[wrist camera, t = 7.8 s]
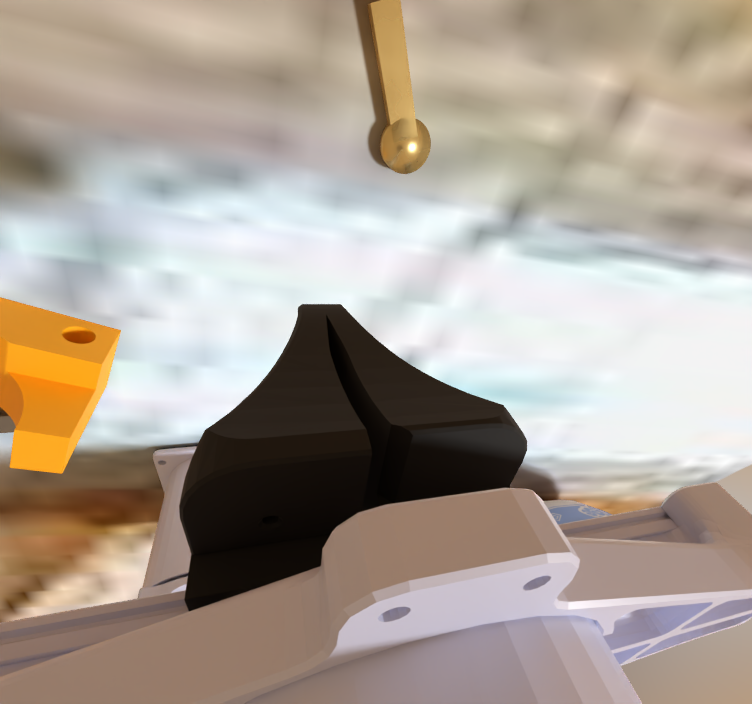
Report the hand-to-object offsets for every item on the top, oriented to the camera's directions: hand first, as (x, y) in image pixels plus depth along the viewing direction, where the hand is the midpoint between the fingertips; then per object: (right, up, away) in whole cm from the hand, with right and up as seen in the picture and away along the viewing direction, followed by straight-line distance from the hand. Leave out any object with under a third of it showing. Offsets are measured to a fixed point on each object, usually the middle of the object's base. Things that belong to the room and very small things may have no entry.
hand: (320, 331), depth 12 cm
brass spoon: (+2, +12, +5) cm, 13 cm away
